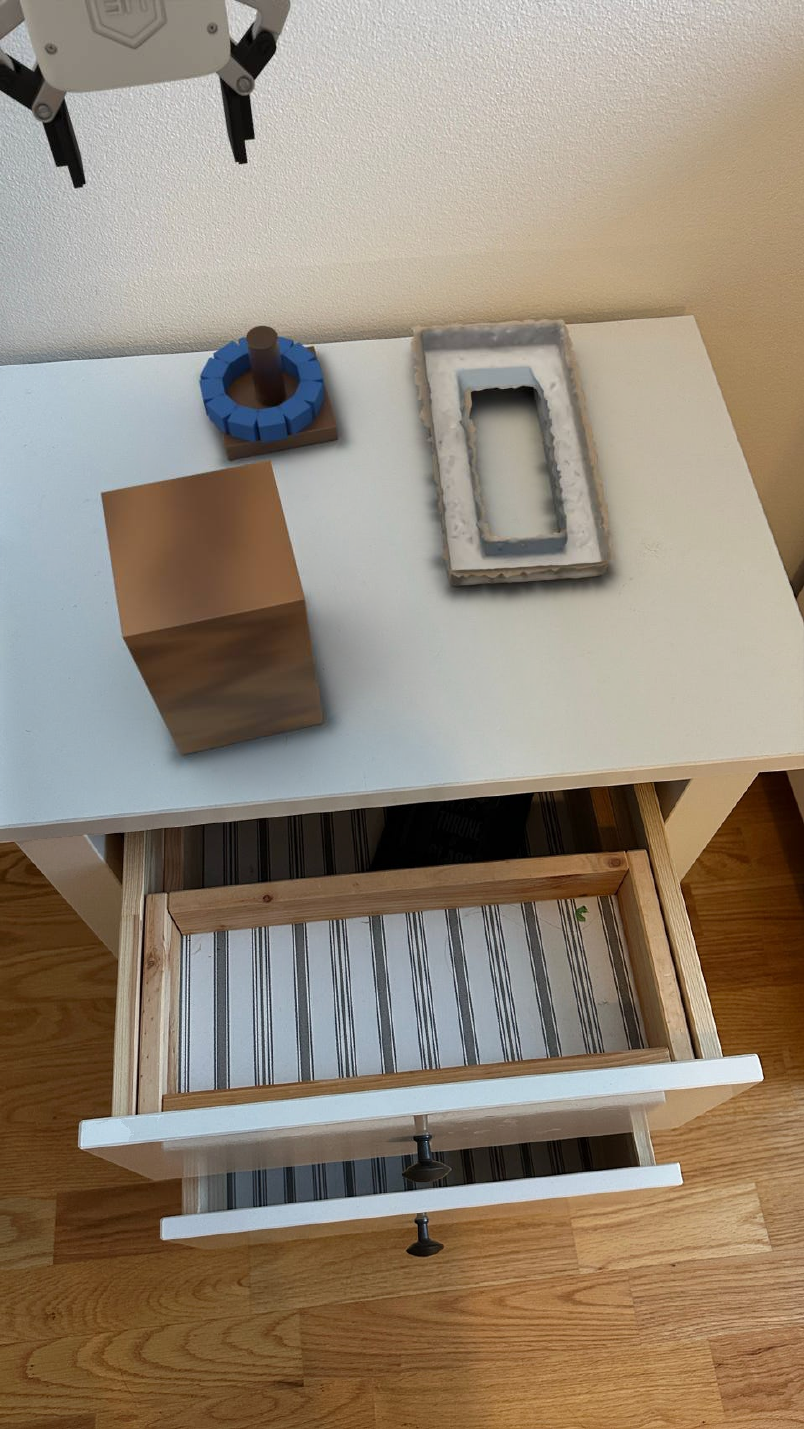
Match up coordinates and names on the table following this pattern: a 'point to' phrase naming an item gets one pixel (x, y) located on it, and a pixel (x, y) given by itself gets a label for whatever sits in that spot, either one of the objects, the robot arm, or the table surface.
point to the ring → (268, 420)
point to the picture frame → (547, 364)
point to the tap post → (273, 397)
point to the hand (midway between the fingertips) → (158, 161)
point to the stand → (214, 605)
